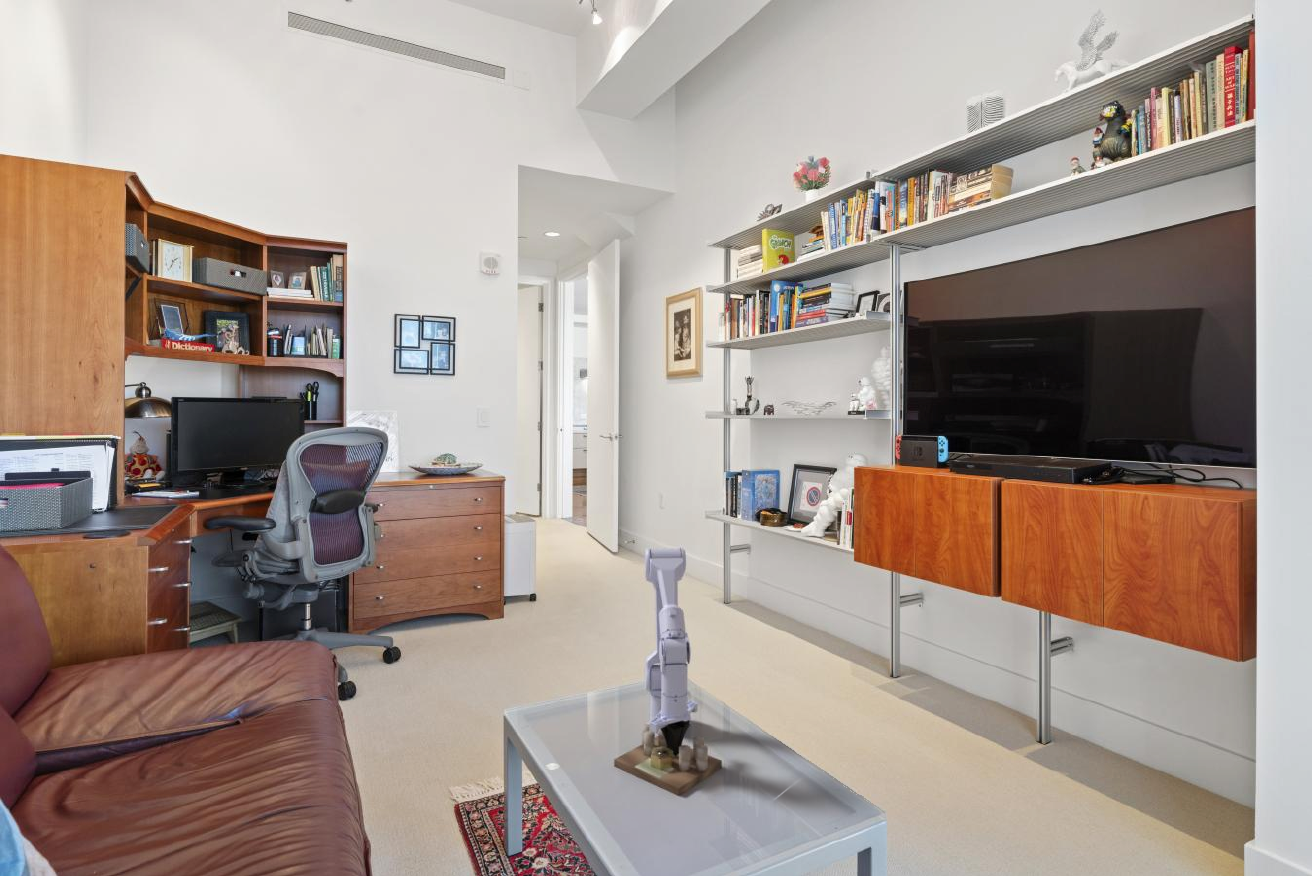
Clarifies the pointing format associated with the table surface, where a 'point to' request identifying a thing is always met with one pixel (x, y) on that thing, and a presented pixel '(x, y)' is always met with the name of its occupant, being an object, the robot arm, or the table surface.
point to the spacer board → (684, 768)
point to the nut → (661, 758)
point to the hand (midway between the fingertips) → (673, 753)
